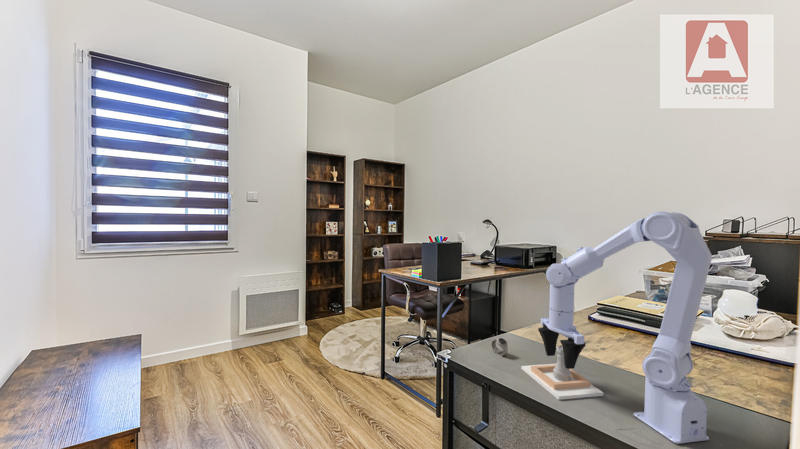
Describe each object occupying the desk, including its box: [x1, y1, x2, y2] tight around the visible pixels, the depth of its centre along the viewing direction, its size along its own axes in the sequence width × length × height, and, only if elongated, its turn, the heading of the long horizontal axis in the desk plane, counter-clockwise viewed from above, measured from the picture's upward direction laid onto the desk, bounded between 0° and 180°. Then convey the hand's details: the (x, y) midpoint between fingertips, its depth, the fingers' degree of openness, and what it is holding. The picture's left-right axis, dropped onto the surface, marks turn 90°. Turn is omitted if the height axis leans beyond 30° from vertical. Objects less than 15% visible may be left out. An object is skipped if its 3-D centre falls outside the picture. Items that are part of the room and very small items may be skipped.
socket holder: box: [520, 363, 604, 401], centre depth 86 cm, size 16×12×2 cm
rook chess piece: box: [553, 344, 571, 381], centre depth 87 cm, size 4×4×8 cm
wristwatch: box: [490, 337, 509, 357], centre depth 104 cm, size 4×6×5 cm, turn 22°
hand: (559, 361), depth 86 cm, fingers open, 7 cm apart
